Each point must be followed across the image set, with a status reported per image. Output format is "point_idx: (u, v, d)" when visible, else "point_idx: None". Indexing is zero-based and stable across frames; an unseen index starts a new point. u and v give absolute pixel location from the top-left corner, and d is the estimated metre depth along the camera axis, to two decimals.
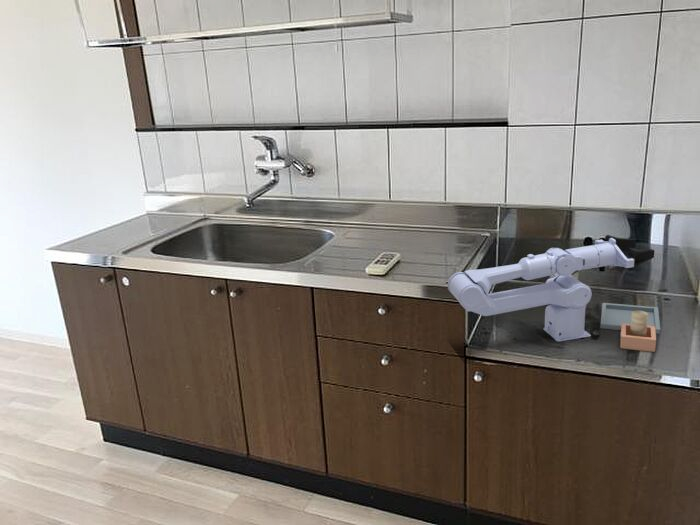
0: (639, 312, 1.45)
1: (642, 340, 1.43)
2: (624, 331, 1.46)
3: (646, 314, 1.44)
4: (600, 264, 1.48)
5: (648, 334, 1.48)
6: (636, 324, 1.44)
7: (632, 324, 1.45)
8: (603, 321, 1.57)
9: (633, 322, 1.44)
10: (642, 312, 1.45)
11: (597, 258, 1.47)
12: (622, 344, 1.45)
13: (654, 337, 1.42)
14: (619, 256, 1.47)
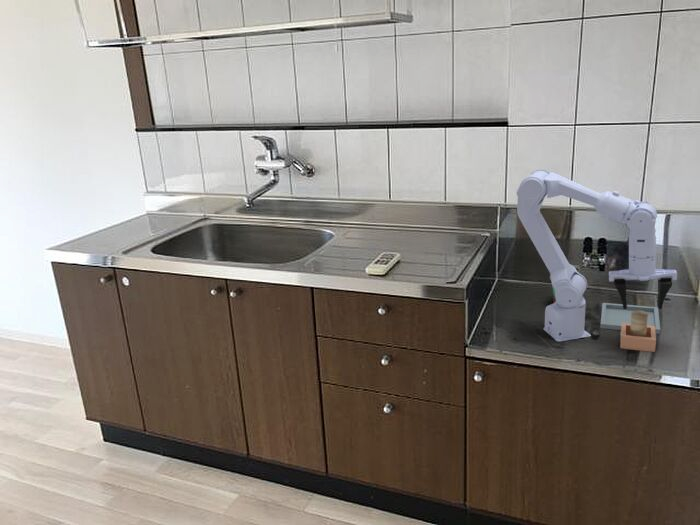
0: (639, 312, 1.45)
1: (642, 340, 1.43)
2: (624, 331, 1.46)
3: (646, 314, 1.44)
4: None
5: (648, 334, 1.48)
6: (636, 324, 1.44)
7: (632, 324, 1.45)
8: (603, 321, 1.57)
9: (633, 322, 1.44)
10: (642, 312, 1.45)
11: (643, 255, 1.37)
12: (622, 344, 1.45)
13: (654, 337, 1.42)
14: (626, 274, 1.42)
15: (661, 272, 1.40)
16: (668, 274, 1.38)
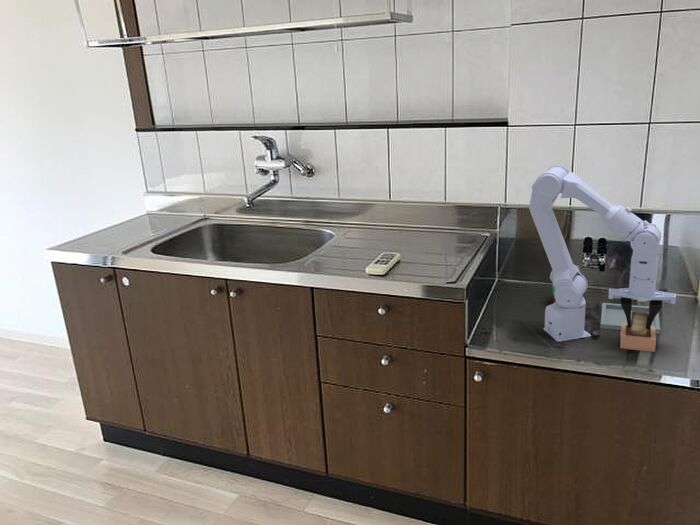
0: (640, 312, 1.45)
1: (642, 340, 1.43)
2: (624, 331, 1.46)
3: (646, 314, 1.44)
4: None
5: (648, 334, 1.48)
6: (636, 324, 1.44)
7: (632, 324, 1.45)
8: (603, 321, 1.57)
9: (633, 322, 1.44)
10: (642, 312, 1.45)
11: (643, 277, 1.38)
12: (622, 344, 1.45)
13: (654, 337, 1.42)
14: (626, 293, 1.44)
15: (660, 294, 1.41)
16: (667, 297, 1.39)
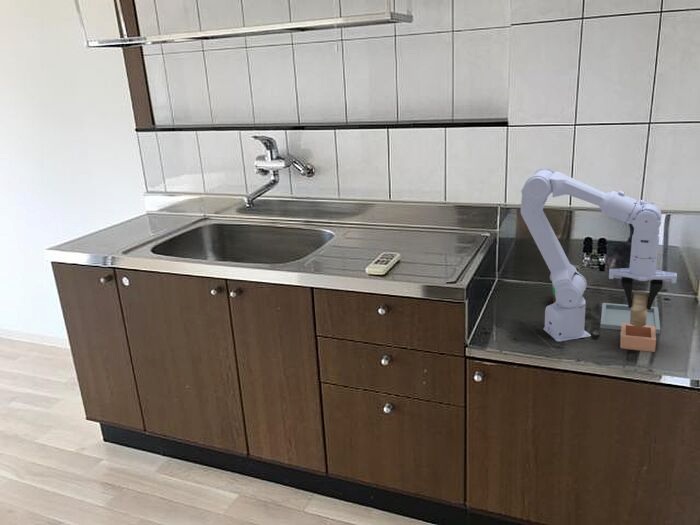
0: (640, 292, 1.44)
1: (642, 340, 1.43)
2: (624, 331, 1.46)
3: (647, 294, 1.43)
4: None
5: (648, 334, 1.48)
6: (636, 304, 1.43)
7: (633, 304, 1.44)
8: (603, 321, 1.57)
9: (634, 302, 1.44)
10: (643, 292, 1.44)
11: (645, 256, 1.38)
12: (622, 344, 1.45)
13: (654, 337, 1.42)
14: (626, 273, 1.43)
15: (661, 274, 1.40)
16: (668, 277, 1.39)
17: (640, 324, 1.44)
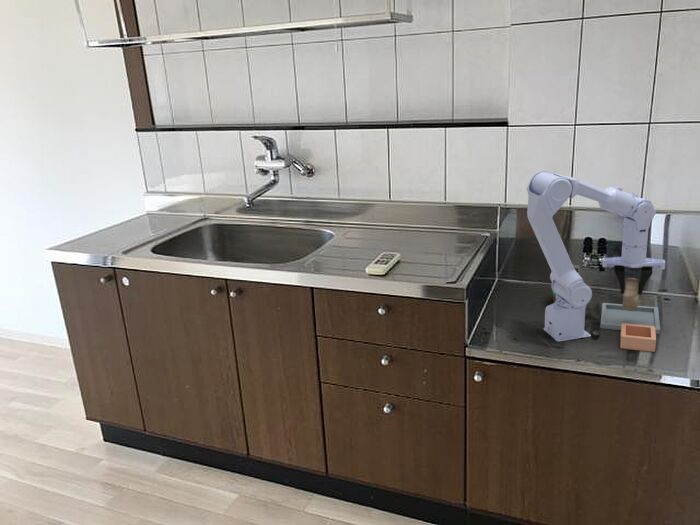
0: (631, 279, 1.54)
1: (642, 340, 1.43)
2: (624, 331, 1.46)
3: (638, 280, 1.53)
4: None
5: (648, 334, 1.48)
6: (629, 290, 1.53)
7: (625, 290, 1.54)
8: (603, 321, 1.57)
9: (626, 288, 1.54)
10: (634, 279, 1.55)
11: (643, 244, 1.48)
12: (622, 344, 1.45)
13: (654, 337, 1.42)
14: (619, 261, 1.53)
15: (651, 261, 1.51)
16: (657, 263, 1.49)
17: (632, 309, 1.55)
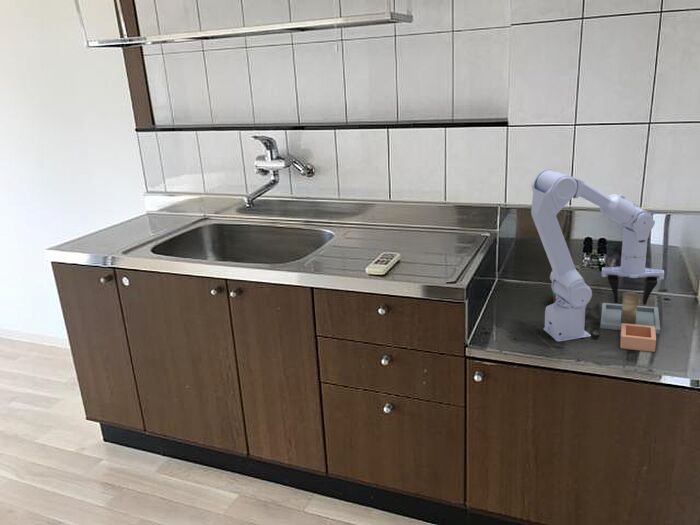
0: (630, 293, 1.56)
1: (642, 340, 1.43)
2: (624, 331, 1.46)
3: (636, 294, 1.55)
4: None
5: (648, 334, 1.48)
6: (627, 304, 1.55)
7: (623, 304, 1.56)
8: (603, 321, 1.57)
9: (625, 302, 1.55)
10: (632, 293, 1.56)
11: (642, 254, 1.49)
12: (622, 344, 1.45)
13: (654, 337, 1.42)
14: (618, 271, 1.54)
15: (650, 271, 1.52)
16: (656, 273, 1.50)
17: (631, 322, 1.56)
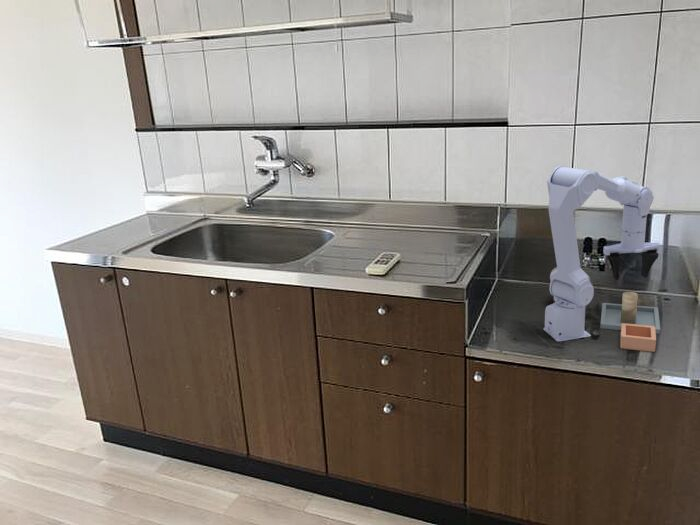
0: (630, 293, 1.56)
1: (642, 340, 1.43)
2: (624, 331, 1.46)
3: (636, 294, 1.55)
4: None
5: (648, 334, 1.48)
6: (627, 304, 1.55)
7: (623, 304, 1.56)
8: (603, 321, 1.57)
9: (625, 302, 1.55)
10: (632, 293, 1.56)
11: (644, 229, 1.55)
12: (622, 344, 1.45)
13: (654, 337, 1.42)
14: (620, 248, 1.59)
15: (648, 245, 1.59)
16: (655, 246, 1.58)
17: (631, 322, 1.56)
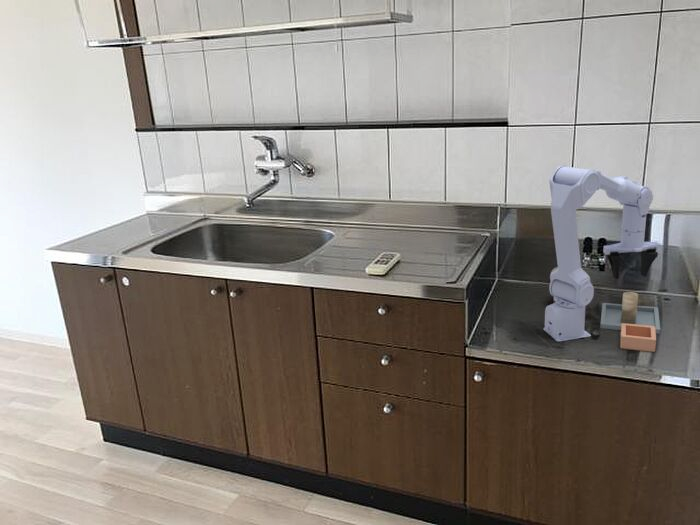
0: (630, 293, 1.56)
1: (642, 340, 1.43)
2: (624, 331, 1.46)
3: (636, 294, 1.55)
4: (621, 230, 1.60)
5: (648, 334, 1.48)
6: (627, 304, 1.55)
7: (624, 304, 1.56)
8: (603, 321, 1.57)
9: (625, 302, 1.55)
10: (632, 293, 1.56)
11: (644, 228, 1.56)
12: (622, 344, 1.45)
13: (654, 337, 1.42)
14: (620, 247, 1.60)
15: (647, 244, 1.60)
16: (654, 245, 1.59)
17: (631, 322, 1.56)
